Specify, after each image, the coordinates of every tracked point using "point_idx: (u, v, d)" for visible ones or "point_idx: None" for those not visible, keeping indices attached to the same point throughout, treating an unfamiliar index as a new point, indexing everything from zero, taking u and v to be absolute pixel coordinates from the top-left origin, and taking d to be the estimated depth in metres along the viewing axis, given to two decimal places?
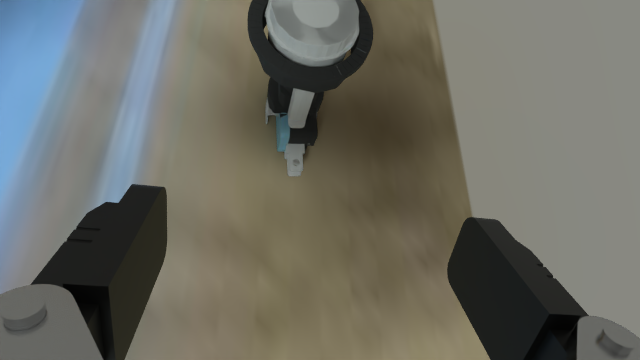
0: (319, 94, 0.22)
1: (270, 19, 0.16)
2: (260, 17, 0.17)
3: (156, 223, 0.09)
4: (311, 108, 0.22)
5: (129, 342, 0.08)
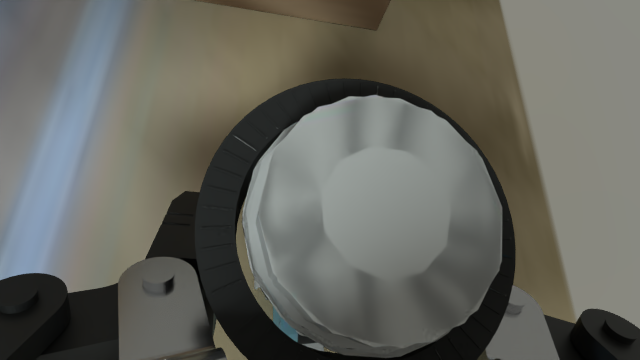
0: None
1: (257, 231, 0.06)
2: (230, 216, 0.06)
3: None
4: None
5: None
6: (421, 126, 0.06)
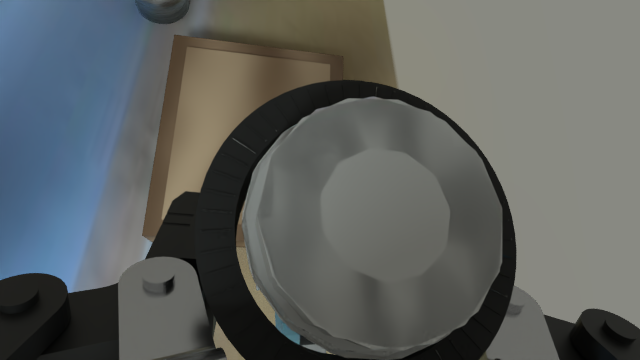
0: None
1: (256, 234, 0.06)
2: (229, 219, 0.06)
3: None
4: None
5: None
6: (420, 127, 0.06)
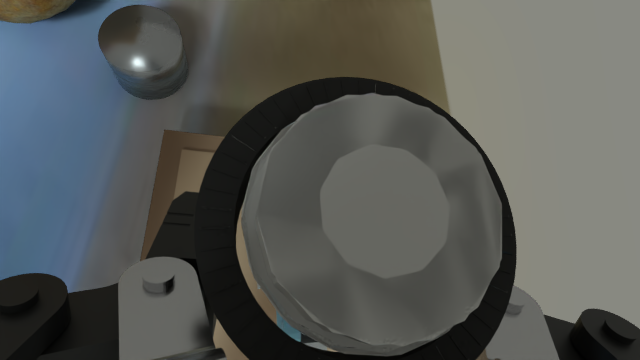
0: None
1: (255, 231, 0.06)
2: (229, 216, 0.06)
3: None
4: None
5: None
6: (419, 123, 0.06)
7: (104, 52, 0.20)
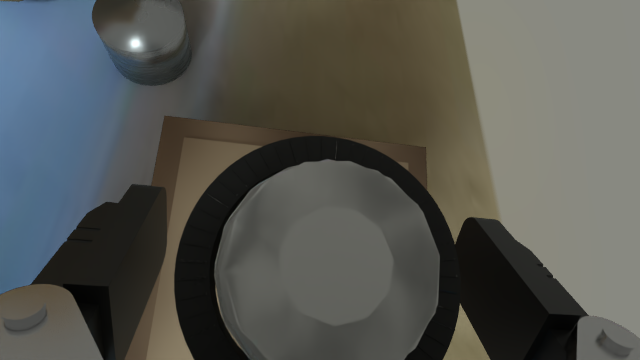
0: None
1: (227, 282, 0.07)
2: (205, 267, 0.07)
3: (156, 223, 0.09)
4: None
5: (129, 342, 0.08)
6: (368, 185, 0.07)
7: (98, 31, 0.18)
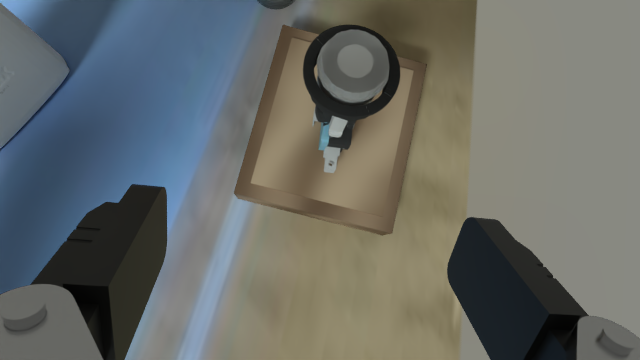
0: None
1: (320, 64, 0.21)
2: (313, 61, 0.22)
3: (156, 223, 0.09)
4: (348, 122, 0.27)
5: (129, 342, 0.08)
6: (370, 40, 0.21)
7: None
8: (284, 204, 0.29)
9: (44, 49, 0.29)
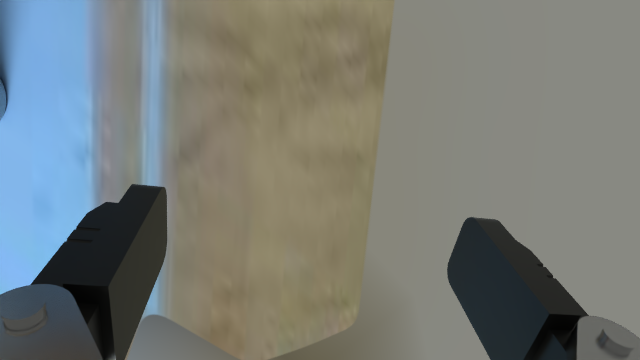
0: None
1: None
2: None
3: (156, 223, 0.09)
4: None
5: (129, 342, 0.08)
6: None
7: None
8: None
9: None
